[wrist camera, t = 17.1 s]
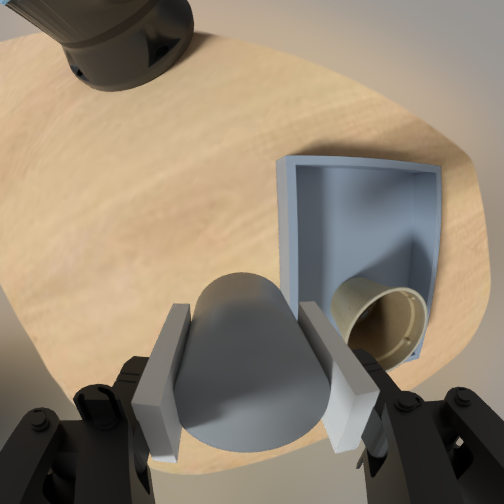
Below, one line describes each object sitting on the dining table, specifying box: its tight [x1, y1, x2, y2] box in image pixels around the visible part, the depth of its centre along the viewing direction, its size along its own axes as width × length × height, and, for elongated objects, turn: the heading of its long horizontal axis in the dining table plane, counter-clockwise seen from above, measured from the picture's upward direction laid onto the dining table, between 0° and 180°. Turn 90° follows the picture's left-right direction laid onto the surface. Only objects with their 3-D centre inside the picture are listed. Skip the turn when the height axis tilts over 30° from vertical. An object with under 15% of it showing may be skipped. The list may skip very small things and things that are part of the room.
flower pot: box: [330, 277, 428, 373], centre depth 26 cm, size 9×9×9 cm
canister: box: [173, 272, 330, 452], centre depth 11 cm, size 5×5×7 cm
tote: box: [276, 155, 442, 363], centre depth 28 cm, size 24×18×5 cm
